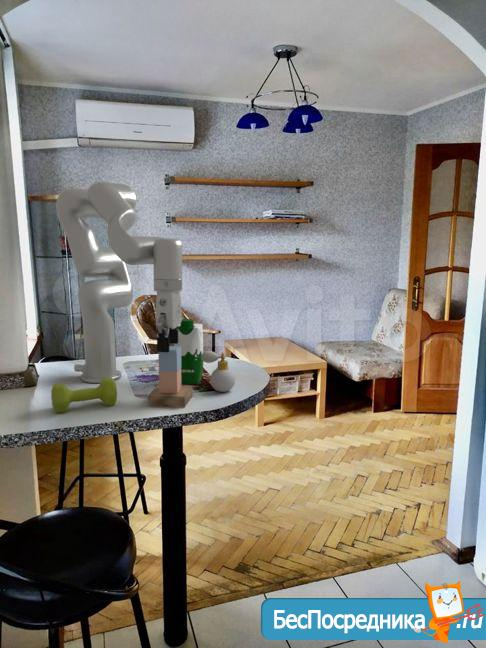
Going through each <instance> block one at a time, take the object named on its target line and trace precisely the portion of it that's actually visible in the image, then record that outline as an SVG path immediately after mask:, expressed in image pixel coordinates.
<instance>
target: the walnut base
mask: <svg viewBox="0 0 486 648" xmlns="http://www.w3.org/2000/svg"><path fill="white" fill-rule="evenodd" d="M181 387H182V388H181V389H180V390H179V392H178V393H159V383H158V384H157V385H156V386H155V387H154V388H153V389H152V390H151V392H150V393H148V394H147V402H148V404H147V405H148V407H161V408H162V407H163V408H164V407H166V408H168V407H169V408H186V406H187V404H188V403H189V402H190V400H191V398H192V397H193V384H181Z"/></svg>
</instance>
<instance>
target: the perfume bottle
mask: <svg viewBox="0 0 486 648" xmlns="http://www.w3.org/2000/svg"><path fill="white" fill-rule="evenodd" d="M201 358H202V360H203V363H207V364H210V363H211V364H212V363H214V362H216V361H217V368H216V369H214V370H213V371H212V372H211V373H210V374H211V375H210V378H209V379H210V384H211V385H210V386H211V387H212V388H213V389H214V390H215V391H217V392H220V393H226V392H229V391H231V390H232V389H233V387H234V386H235V384H236V375H235V373H234V371H233V370H232V369H230V368H229V365H228V364H229V363H228V360H225V359H226V356H225V353H224V352H222V353H221V354H220V355H219V354H218V353H216V352H214V351H211V350H205V351H203V353H202V355H201ZM219 359H220V360H219Z"/></svg>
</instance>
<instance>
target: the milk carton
mask: <svg viewBox="0 0 486 648" xmlns="http://www.w3.org/2000/svg"><path fill="white" fill-rule="evenodd" d="M194 322H195V321H194V319H192V318H191V319H190V318H184V319H183V318H182V321H181V324H180V325H178V329H176V330H178V343H177V344H173V346H181V385H199V384H200V382H201V380H202V379H203V371H204V361H203V360H202V358H201V355H202V353H203V352H204V331H203V323H194Z"/></svg>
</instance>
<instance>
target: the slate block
mask: <svg viewBox="0 0 486 648" xmlns="http://www.w3.org/2000/svg"><path fill="white" fill-rule="evenodd" d="M180 368H181V346H174V345H169V352H158V373H159V372H178V371H179V369H180Z"/></svg>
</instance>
